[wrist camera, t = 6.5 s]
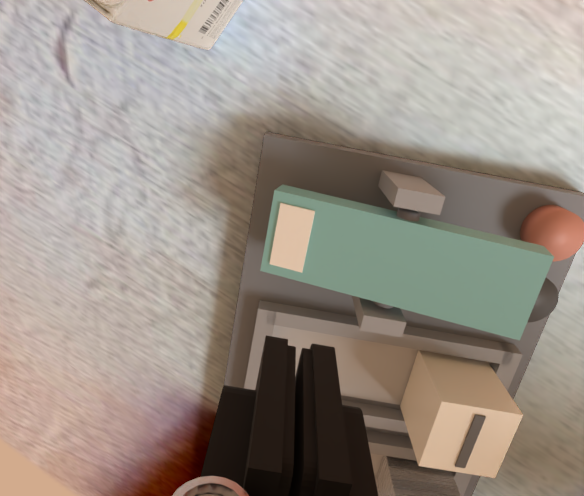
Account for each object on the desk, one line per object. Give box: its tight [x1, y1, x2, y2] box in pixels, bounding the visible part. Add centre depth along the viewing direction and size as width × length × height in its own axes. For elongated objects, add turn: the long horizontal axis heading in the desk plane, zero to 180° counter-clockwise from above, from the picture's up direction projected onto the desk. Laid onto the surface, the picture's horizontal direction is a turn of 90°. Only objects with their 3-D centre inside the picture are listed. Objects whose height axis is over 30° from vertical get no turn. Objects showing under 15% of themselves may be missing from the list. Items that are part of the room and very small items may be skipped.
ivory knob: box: [400, 350, 523, 478], centre depth 24 cm, size 4×4×5 cm
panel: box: [224, 132, 584, 496], centre depth 26 cm, size 17×25×6 cm
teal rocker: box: [260, 185, 554, 340], centre depth 21 cm, size 12×5×2 cm, turn 80°
